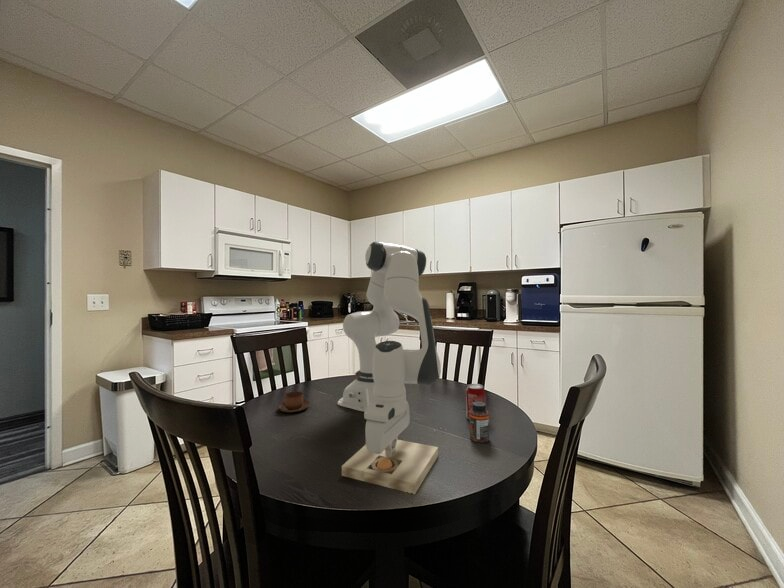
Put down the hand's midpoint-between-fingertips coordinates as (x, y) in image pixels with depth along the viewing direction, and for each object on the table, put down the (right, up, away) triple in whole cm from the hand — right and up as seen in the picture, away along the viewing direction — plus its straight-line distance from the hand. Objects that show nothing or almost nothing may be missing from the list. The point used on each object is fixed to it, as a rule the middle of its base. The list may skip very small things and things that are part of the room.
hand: (390, 454), depth 88 cm
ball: (-2, -2, -3) cm, 4 cm away
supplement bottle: (+28, -3, +15) cm, 32 cm away
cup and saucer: (-39, -4, +45) cm, 60 cm away
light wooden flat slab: (0, -3, +1) cm, 4 cm away
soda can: (+31, -3, +32) cm, 44 cm away
